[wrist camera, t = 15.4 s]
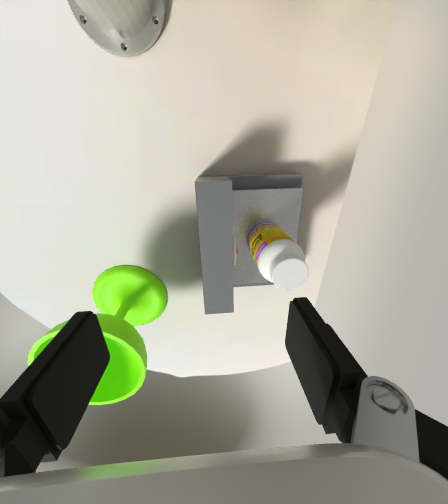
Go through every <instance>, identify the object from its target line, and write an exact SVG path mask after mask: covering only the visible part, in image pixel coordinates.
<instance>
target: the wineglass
mask: <svg viewBox="0 0 448 504" xmlns="http://www.w3.org/2000/svg"><path fill="white" fill-rule="evenodd" d="M93 299H94V301H95V304H96V306H97V308H98V309H99V310H100V311H101V313H102V314H96V315H97V318H98V321H99V324H100V327H101V329H102V332H103V335H104V338H105V341H106V344H107V347H108V350H109V353H110V361H109V364H108V366H107V368H106V370H105V372H104V374H103V376H102V378H101V380H100V382H99V384H98V386H97V388H96V390H95V392H94V394H93V396H92V398H91V400H90V402H89V404H88V405H103V404H110V403H115V402H118V401H121V400H124V399H126V398H128V397H130V396H131V395H133V394H134V393H135V392H136V391H137V390H138V389H139V388H140V387H141V386H142V384H143V381H144V379H145V374H146V368H147V353H146V348H145V344H144V341H143V339H142V337H141V336H140V334H139V333H138V332H137V330H136V329H135V328H134V326H137V325H144V324H147V323H150V322H152V321H153V320H155V319H156V318H158V317H159V316H160V315H161V314H162V312H163V311H164V309H165V307H166V304H167V294H166V290H165V288H164V286H163V284H162V283H161V281H160V280H159V279H158V278H157V277H156V276H155V275H153V274H152V273H150V272H148V271H147V270H145V269H142V268H139V267H136V266H127V265H123V266H115V267H113V268H110V269H107V270H106V271H104V272H103V273H102V274H100V275H99V277H98V278H97V280H96V281H95V283H94V287H93ZM68 321H69V320H68ZM68 321H65V322H63V323H61V324H59V325H57V326H55V327H54V328H53V329H51V330H50V331H49V332H47V333H46V334H45V335H44V336H43V337H41V338H40V339H39V340H38V341H37V342H35V343H34V345H33V347H32V348H31V350H30V351H29V355H28V366H29V365H30V364H31V363H32V362H33V361H34V360H35V359H36V357H37V356H38V355H39V354H40V353H41V352H42V351H43V349H44V348H45V347H46V346H47V345H48V344H49V343H50V341H51V340H52V339H53V338H54V337H55V336H56V335H57V333H58V332H59V331H60V330H61V329H62V328H63V327H64V325H65V324H66V323H67V322H68Z"/></svg>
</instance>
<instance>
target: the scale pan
mask: <svg viewBox="0 0 448 504" xmlns="http://www.w3.org/2000/svg"><path fill="white" fill-rule="evenodd" d="M302 196H303V188H302V187H292V188H264V189H237V190H232V206H233V226H234V229H235V236H236V247H237V250H238V254H236V266H233V285H236V284H252V283H269V282H270V281H268V280H267V279H265V278H264V277H263V276H262V274H261V273H260V271H259V269H258V267H257V264H256V262H255V260H254V258H253V256H252V254H251V251H250V249H249V246H248V237H249V235H250V233H251V231H252V230H253V229H254V228H255V227H256V226H258V225H260V224H263V223H272V224H275V225H277V226H279V227H280V228H281V229H282V230H283V231H284V232H285V233H286V234H287V235H288V236H289V237H290V238H291V239H292V240H294V241H295V242H296V243H297V237H298V229H299V221H300V213H301V204H302Z"/></svg>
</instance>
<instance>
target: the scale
mask: <svg viewBox="0 0 448 504" xmlns="http://www.w3.org/2000/svg"><path fill="white" fill-rule="evenodd" d="M301 183H302V174H296V173H294V174H263V175H232V176H202V177H198V178H197V179H196V181H195V192H196V204H197V217H198V230H199V243H200V255H201V268H202V281H203V294H204V306H205V314H216V313H231V312H234V305H233V287H242V286H258V285H275V284H274V283H273V282H269V283H252V284H236V285H233V266H236V254H238V250H237V247H236V236H235V229H234V226H233V206H232V190H237V189H264V188H292V187H301Z"/></svg>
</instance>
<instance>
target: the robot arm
mask: <svg viewBox="0 0 448 504" xmlns="http://www.w3.org/2000/svg"><path fill="white" fill-rule="evenodd" d="M68 3H69V6H70V8H71V10H72V12H73V15H74V17H75V18H76V20H77V21H78V23H79V25H80V26H81V28H82V29H83V30H84V31H85V32H86V34H87V35H88V36H89V37H90V38H91V39H92V40H93V41H94V42H95V43H96V44H97V45H99V46H100V47H101V48H103V49H104V50H106V51H108V52H110V53H112V54H115V55H118V56H123V57H132V56H137V55H139V54H142V53H144V52H145V51H147V50H148V49H149V48H150V47H152V45H153V44H154V43H155V41H156V40H157V39H158V37H159V35H160V32H161V30H162V27H163V23H164V19H165V10H166V2H165V0H68ZM86 21H87V22H86ZM85 22H86V24H85ZM156 22H158V24H155V23H156ZM125 48H127V50H126V51H125ZM285 345H286V349H287V352H288V354H289V356H290V359H291V361H292V364H293V366H294V368H295V371H296V373H297V375H298V378H299V380H300V383H301V385H302V388H303V390H304V392H305V395H306V397H307V400H308V402H309V404H310V407H311V409H312V412H313V414H314V416H315V419H316V421H317V423H318V424H322V425H323V428H324V430H325V433H326V434H331V433H336V435H337V437H338V439H339V440H340V441H341V442H342V443H340V444H338V443H336V444H315V445H302V446H289V447H277V448H267V449H257V450H246V451H237V452H225V453H216V454H205V455H195V456H186V457H176V458H166V459H156V460H148V461H137V462H128V463H118V464H109V465H99V466H91V467H81V468H72V469H62V470H54V471H46V472H38V473H36V469H37V467H38V465H39V464H40V462H51V461H57V459H58V457H59V455H60V454H61V452H62V450H64V449H65V448H66V447H67V446H68V444H69V443H70V441H71V439H72V437H73V435H74V432H75V431H76V428H77V426H78V424H79V422H80V420H81V418H82V416H83V414H84V412H85V410H86V408H87V406H88V404H89V402H90V400H91V398H92V396H93V394H94V392H95V390H96V388H97V386H98V384H99V382H100V380H101V378H102V376H103V374H104V372H105V370H106V368H107V366H108V364H109V361H110V353H109V350H108V347H107V344H106V341H105V338H104V335H103V332H102V329H101V327H100V324H99V321H98V318H97V315H96V314H93V312H92V311H84V312H76V313H75V314H74V315H73V316H72V318H71V319H70V320H69V321H68V322H67V323H66V324H65V325H64V327H63V328H62V329H61V330H60V331H59V332H58V333H57V335H56V336H55V337H54V338H53V339H52V340H51V341H50V343H49V344H48V345H47V346H46V347H45V348H44V349H43V351H42V352H41V353H40V354H39V355H38V356H37V357H36V359H35V360H34V361H33V362H32V363H31V364H30V365H29V367H28V368H27V369H26V370H25V371H24V372H23V373H22V375H21V376H20V377H19V378H18V379H17V380H16V381H15V383H14V384H13V385H12V386H11V387H10V388H9V389H8V391H7V392H6V393H5V394H4V395H3V396H2V397H1V399H0V504H448V427H447V426H445V425H444V424H442V423H440V422H438V421H436V420H434V419H432V418H430V417H429V416H427V415H425V414H423V413H421V412H419V411H418V410H416V409H414V406H413V403H412V401H411V400H410V398H409V396H408V395H407V394H406V393H405V392H404V391H403V390H402V389H401V388H400V387H398V386H397V385H396V384H394V383H392V382H391V381H389V380H387V379H384V378H381V377H376V376H371V377H368V376H367V375H366V373H365V372H364V371H363V369H362V368H361V366H360V365H359V364H358V363H357V361H356V360H355V358H354V357H353V356H352V354H351V353H350V352H349V350H348V349H347V348H346V346H345V345H344V344H343V342H342V341H341V340H340V338H339V337H338V336H337V334H336V333H335V331H334V330H333V329H332V327H331V326H330V325H328V324H326V323H325V322H324V321H323V319H322V318H321V316H320V315H319V314H318V312H317V311H316V310H315V308H314V307H313V305H312V304H311V303H310V301H309V300H308V299H307V298H306V297H301V298H294V299H293V301H290V305H289V314H288V322H287V330H286V338H285Z"/></svg>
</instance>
